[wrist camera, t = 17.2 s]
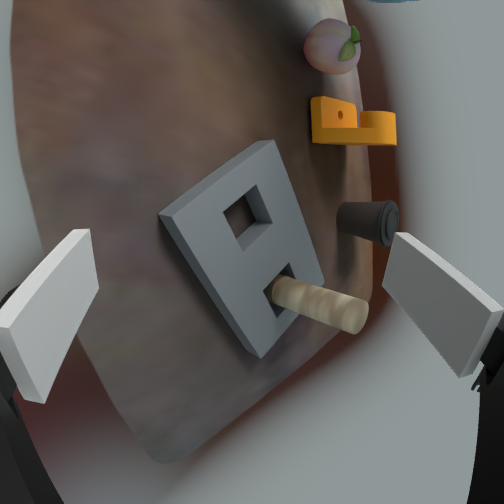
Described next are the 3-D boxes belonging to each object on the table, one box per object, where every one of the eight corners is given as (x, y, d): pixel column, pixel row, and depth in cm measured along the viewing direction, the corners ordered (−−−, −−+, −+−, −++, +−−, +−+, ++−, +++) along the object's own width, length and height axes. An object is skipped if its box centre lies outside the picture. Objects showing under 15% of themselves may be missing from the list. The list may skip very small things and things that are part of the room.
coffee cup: (356, 194, 57) (404, 199, 50) (353, 236, 59) (400, 245, 52) (333, 194, 52) (386, 200, 45) (331, 241, 54) (382, 252, 47)
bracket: (342, 105, 50) (405, 102, 42) (344, 145, 52) (407, 146, 44) (305, 96, 43) (377, 88, 35) (308, 142, 46) (380, 142, 37)
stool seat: (157, 214, 32) (171, 216, 29) (256, 141, 39) (273, 139, 36) (246, 350, 45) (261, 359, 42) (309, 277, 52) (324, 281, 50)
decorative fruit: (315, 90, 45) (371, 83, 37) (282, 59, 39) (342, 45, 32) (326, 49, 45) (378, 40, 38) (297, 19, 39) (351, 3, 32)
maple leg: (270, 264, 45) (366, 292, 34) (280, 285, 47) (370, 315, 36) (251, 284, 43) (347, 320, 32) (262, 305, 45) (353, 341, 34)
